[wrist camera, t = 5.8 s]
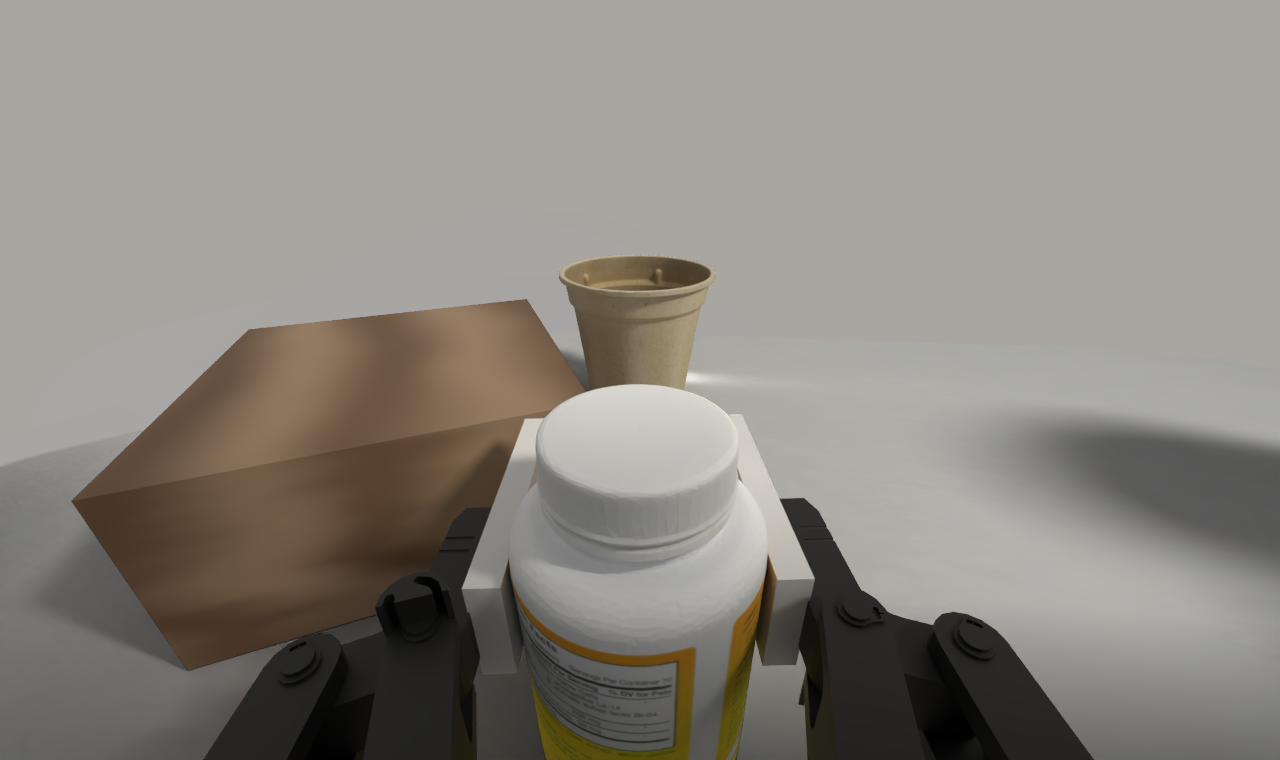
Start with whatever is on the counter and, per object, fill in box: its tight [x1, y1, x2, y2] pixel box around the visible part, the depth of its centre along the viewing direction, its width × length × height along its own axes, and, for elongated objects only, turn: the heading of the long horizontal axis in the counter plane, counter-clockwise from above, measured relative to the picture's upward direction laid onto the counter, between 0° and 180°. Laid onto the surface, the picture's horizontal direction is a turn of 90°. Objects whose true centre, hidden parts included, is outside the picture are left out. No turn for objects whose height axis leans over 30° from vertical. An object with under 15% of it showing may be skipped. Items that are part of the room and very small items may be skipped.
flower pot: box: [559, 255, 716, 391], centre depth 30 cm, size 9×9×9 cm
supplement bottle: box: [508, 384, 768, 760], centre depth 11 cm, size 6×6×10 cm
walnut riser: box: [72, 299, 586, 670], centre depth 22 cm, size 14×14×7 cm
